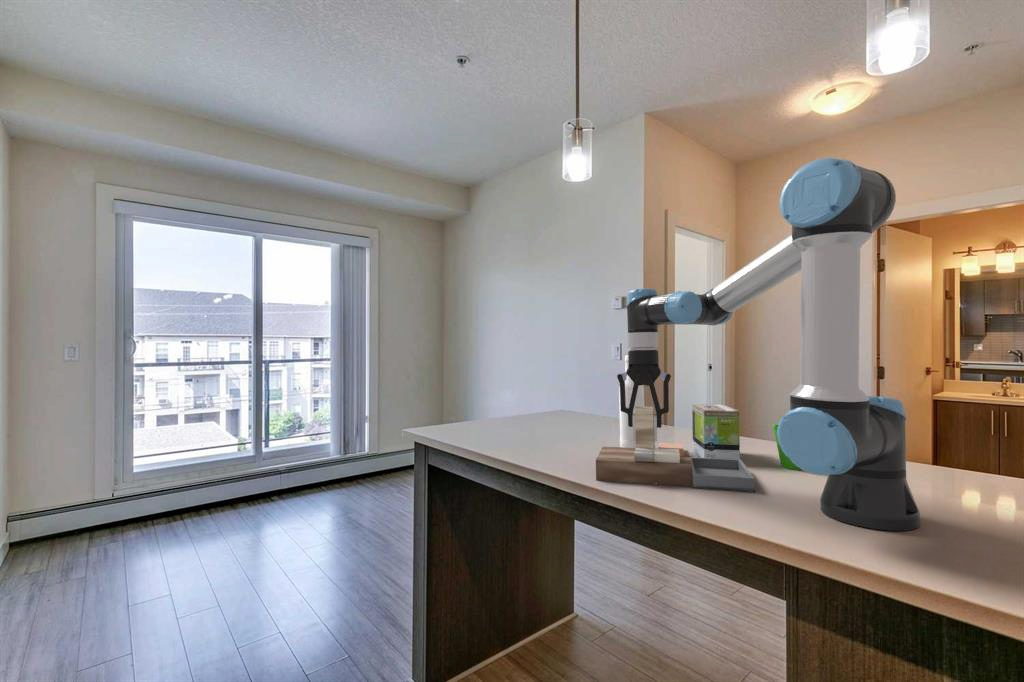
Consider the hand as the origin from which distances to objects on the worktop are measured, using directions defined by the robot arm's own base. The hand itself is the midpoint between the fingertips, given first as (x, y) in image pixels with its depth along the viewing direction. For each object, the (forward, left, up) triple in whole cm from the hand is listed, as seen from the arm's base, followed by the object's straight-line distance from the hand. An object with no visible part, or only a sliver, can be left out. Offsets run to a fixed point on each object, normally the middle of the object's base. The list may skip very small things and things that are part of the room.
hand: (645, 439), depth 121 cm
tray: (0, -17, -9) cm, 19 cm away
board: (0, +1, -9) cm, 9 cm away
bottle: (+30, +5, -9) cm, 32 cm away
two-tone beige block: (0, 0, -4) cm, 4 cm away
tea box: (+25, -19, -9) cm, 33 cm away
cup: (+16, -37, -9) cm, 42 cm away
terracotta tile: (+4, -6, -4) cm, 8 cm away
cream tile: (-4, -5, -4) cm, 7 cm away
